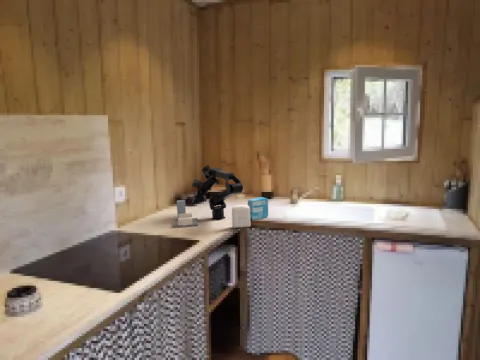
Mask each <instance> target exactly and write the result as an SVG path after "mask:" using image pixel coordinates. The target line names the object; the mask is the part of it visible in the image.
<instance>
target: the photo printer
mask: <svg viewBox="0 0 480 360" xmlns="http://www.w3.org/2000/svg"><path fill="white" fill-rule="evenodd" d="M231 219H232V220H231V222H232V224H231V225H232V228H233V229H234V228H248V227H251V219H250V208H249V206H248V204H247V205H246V204H238V205H237V204H236V205H235V206H232V209H231Z"/></svg>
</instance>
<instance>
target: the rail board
mask: <svg viewBox="0 0 480 360" xmlns="http://www.w3.org/2000/svg"><path fill="white" fill-rule="evenodd" d="M178 216H179V218H178ZM198 226H199V224H198V217H193V213H192V212H186V213H182V214H178V215H177V219H173V223H172V228H176V227H177V228H188V227H198Z"/></svg>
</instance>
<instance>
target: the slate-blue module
mask: <svg viewBox="0 0 480 360" xmlns="http://www.w3.org/2000/svg"><path fill="white" fill-rule="evenodd" d="M176 210H177V211H176V212H177V213H176V214H177V219H178V218H179V216H178V214H182V213H187V211H186V199H180V200H179V199H178V200H176Z"/></svg>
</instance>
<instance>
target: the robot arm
mask: <svg viewBox="0 0 480 360" xmlns="http://www.w3.org/2000/svg"><path fill="white" fill-rule="evenodd" d="M201 173H202V175H203V177H204V178H205V179H206V180H203V181H201V180H199V179H196V178H194V179H193V182H192V184H191V186H192V187H193V188H195V189H197V190H196V191H195V193H194V196H193V200H192V203H191V205H197V204H199V203H204V202H205V201H206V195H208V192H210V191H211V190H212V188H213V187H214V186H215V185H220V179H223V180H225V183H224V184H225V186H224V187H225V188H226V189H225V190H223V191H222V192H221V193H220V192H219V193H214V194H212V195H210V197H209V200H208V204H209V209H210V211H211V216H212V217H211V218H210V219H211V220H217V221H221V220H223V219H225V218H226V216H225V209H227V204H226V202H225V201H226V200H227V199H229V198H231V196H233V195H237V194H241V193H243V190H244V185H243V183H242V182H241V180H240V178H238V177H237V176H236V175H235V172H229V171H225V170H222V168H220V167H211V166H210V165H205V166H204V167H203V168H202V169H201ZM229 181H232V182H234V183H229Z"/></svg>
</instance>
